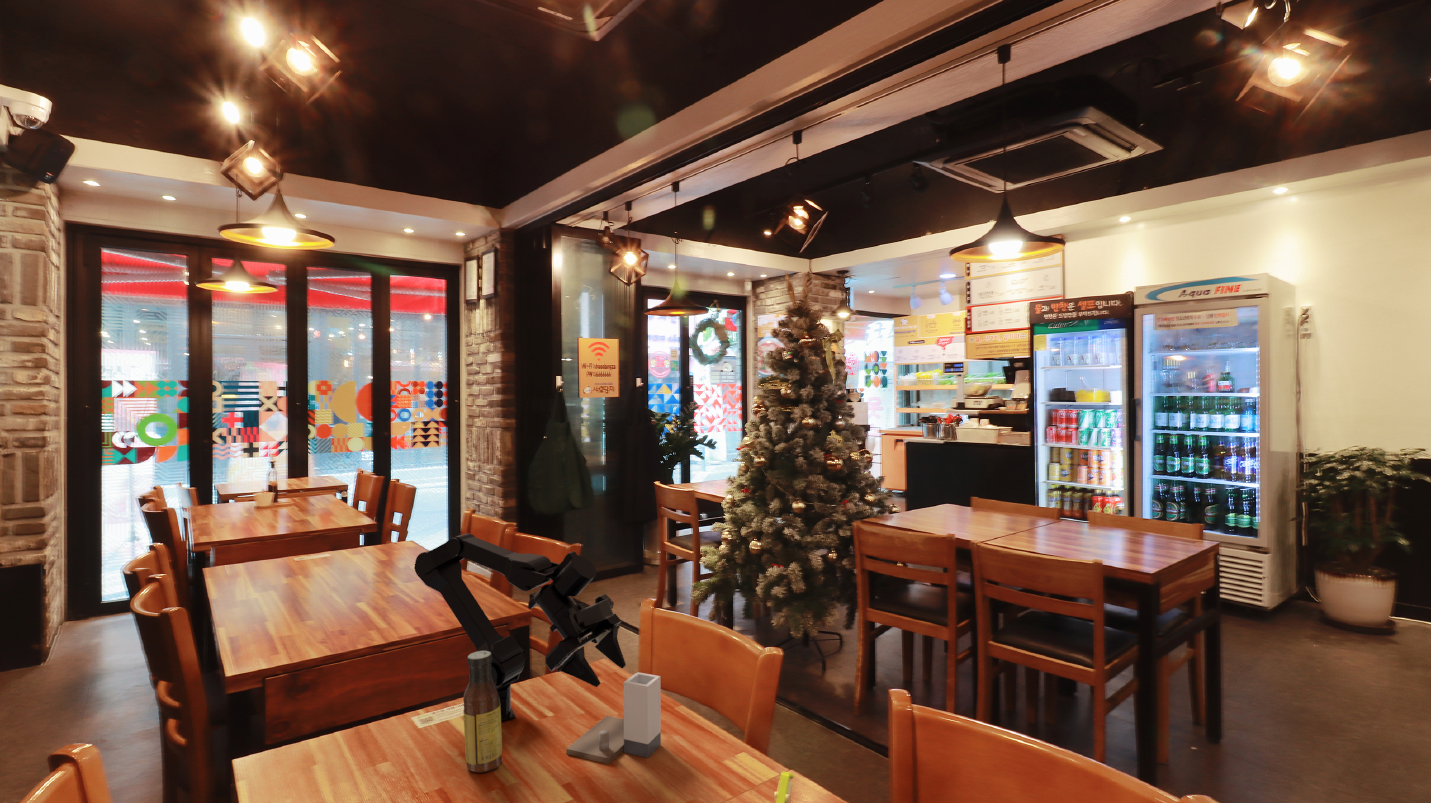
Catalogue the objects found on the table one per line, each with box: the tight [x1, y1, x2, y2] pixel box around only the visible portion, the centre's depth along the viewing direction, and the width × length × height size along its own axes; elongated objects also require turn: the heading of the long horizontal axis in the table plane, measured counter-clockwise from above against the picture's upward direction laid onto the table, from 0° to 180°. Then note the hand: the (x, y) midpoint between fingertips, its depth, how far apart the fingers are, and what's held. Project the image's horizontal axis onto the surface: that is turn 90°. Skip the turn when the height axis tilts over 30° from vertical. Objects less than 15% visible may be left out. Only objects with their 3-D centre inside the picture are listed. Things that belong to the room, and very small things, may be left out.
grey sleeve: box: [623, 671, 662, 759], centre depth 128 cm, size 5×5×13 cm
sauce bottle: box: [462, 650, 503, 774], centre depth 123 cm, size 6×6×20 cm
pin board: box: [565, 715, 624, 765], centre depth 131 cm, size 9×14×4 cm, turn 157°
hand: (611, 675), depth 131 cm, fingers open, 9 cm apart
